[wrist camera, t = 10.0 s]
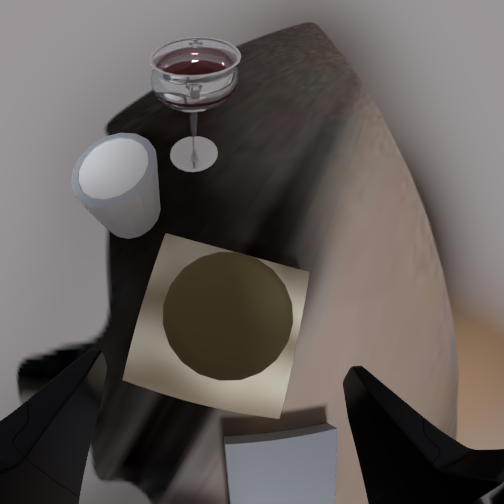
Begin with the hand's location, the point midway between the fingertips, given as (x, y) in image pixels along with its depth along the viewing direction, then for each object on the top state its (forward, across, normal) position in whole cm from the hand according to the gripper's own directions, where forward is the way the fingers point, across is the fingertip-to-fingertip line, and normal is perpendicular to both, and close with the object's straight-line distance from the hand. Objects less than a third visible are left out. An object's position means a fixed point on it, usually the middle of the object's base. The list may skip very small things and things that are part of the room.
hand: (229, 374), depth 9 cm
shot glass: (+18, +9, +1) cm, 20 cm away
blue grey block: (+2, -6, +17) cm, 18 cm away
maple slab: (+11, 0, +7) cm, 13 cm away
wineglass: (+23, +4, -5) cm, 24 cm away
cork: (+9, 0, +6) cm, 11 cm away
